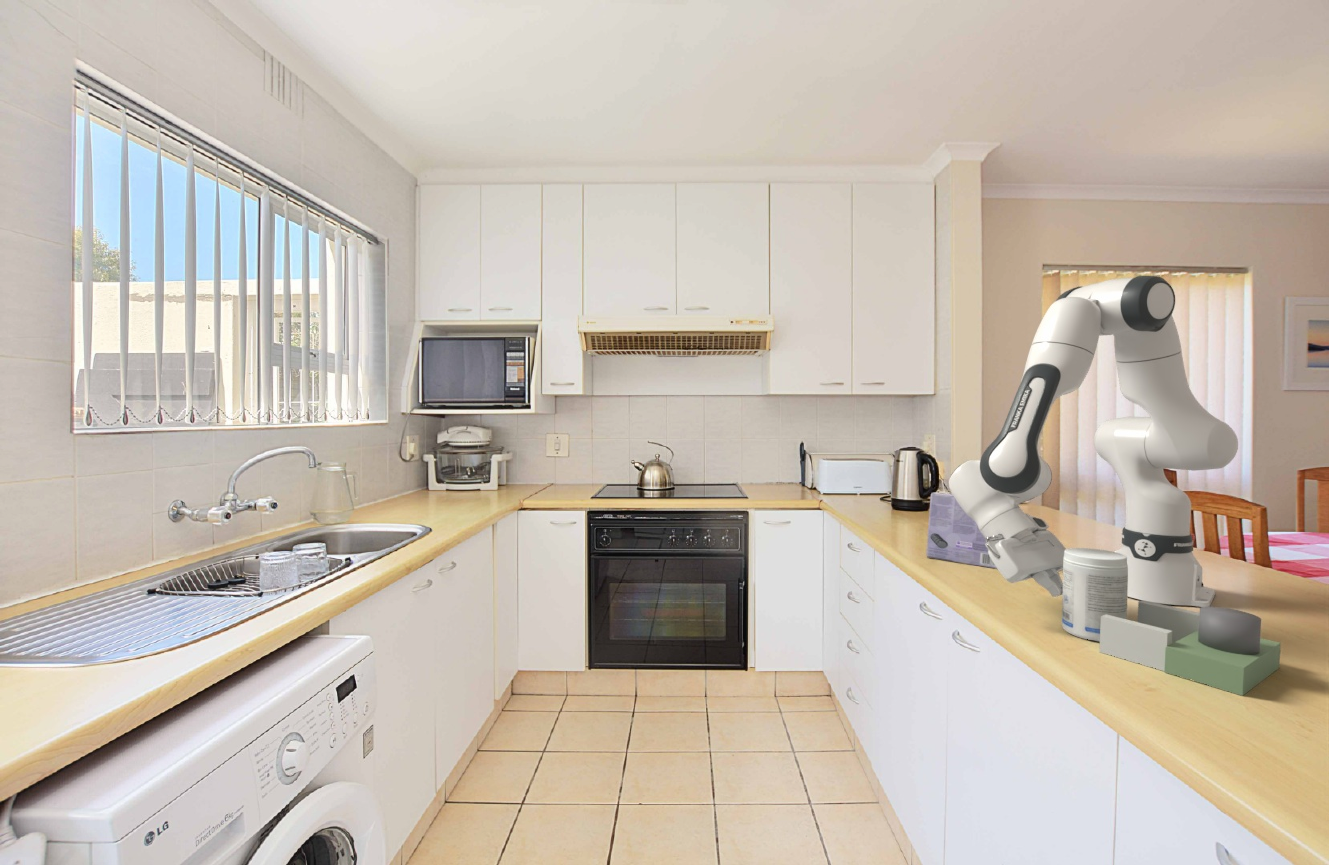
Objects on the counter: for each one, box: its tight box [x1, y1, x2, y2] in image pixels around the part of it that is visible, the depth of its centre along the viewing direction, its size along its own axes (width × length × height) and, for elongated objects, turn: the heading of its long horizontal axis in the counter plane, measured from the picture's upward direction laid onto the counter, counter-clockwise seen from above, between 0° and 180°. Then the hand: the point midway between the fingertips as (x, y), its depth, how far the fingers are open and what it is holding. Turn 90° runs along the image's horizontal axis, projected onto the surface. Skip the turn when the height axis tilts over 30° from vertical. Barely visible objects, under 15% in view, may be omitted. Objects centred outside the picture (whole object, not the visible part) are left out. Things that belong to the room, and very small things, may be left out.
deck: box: [1098, 600, 1282, 697], centre depth 100 cm, size 18×18×9 cm
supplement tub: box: [1061, 547, 1128, 643], centre depth 111 cm, size 10×10×15 cm
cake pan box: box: [925, 491, 998, 570], centre depth 162 cm, size 19×5×18 cm, turn 51°
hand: (1061, 594), depth 115 cm, fingers closed, pressing on supplement tub
